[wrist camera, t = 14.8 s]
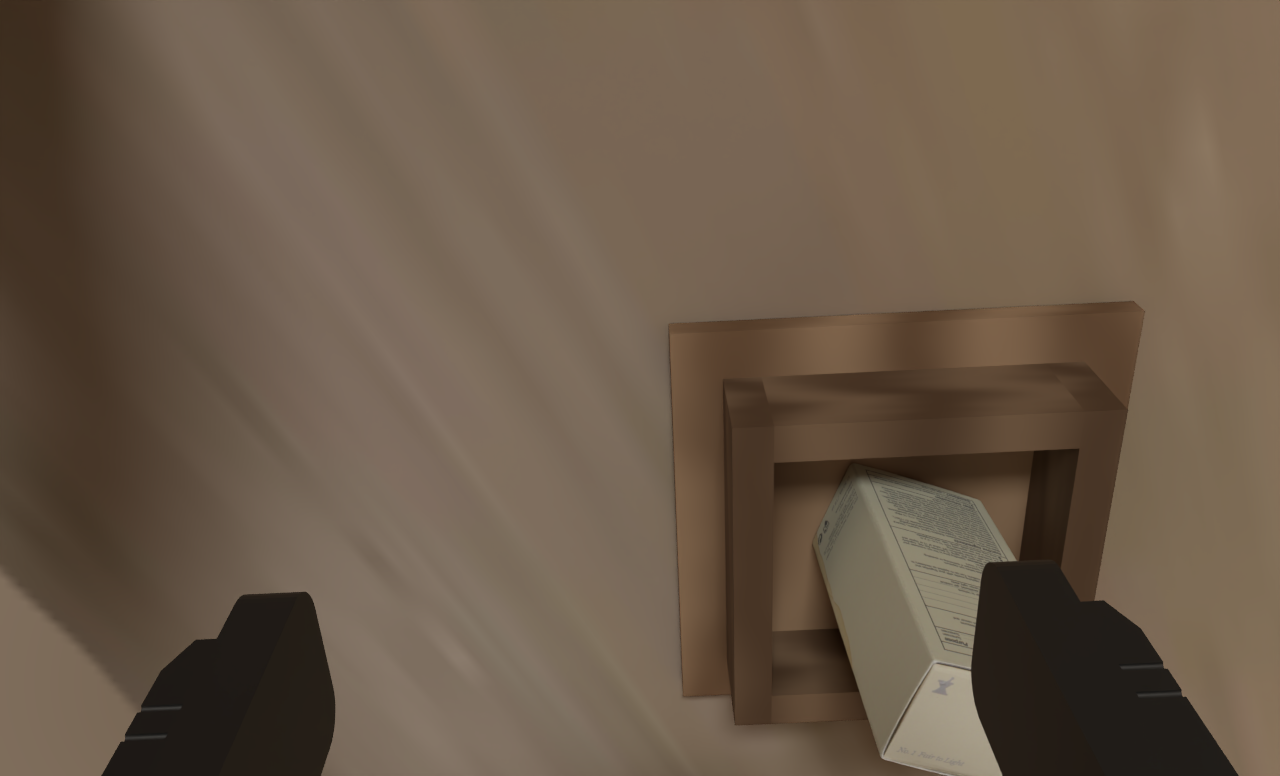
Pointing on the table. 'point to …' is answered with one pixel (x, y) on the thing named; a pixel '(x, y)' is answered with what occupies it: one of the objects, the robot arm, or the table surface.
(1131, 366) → the brown wooden tray
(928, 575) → the skincare box
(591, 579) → the table surface
